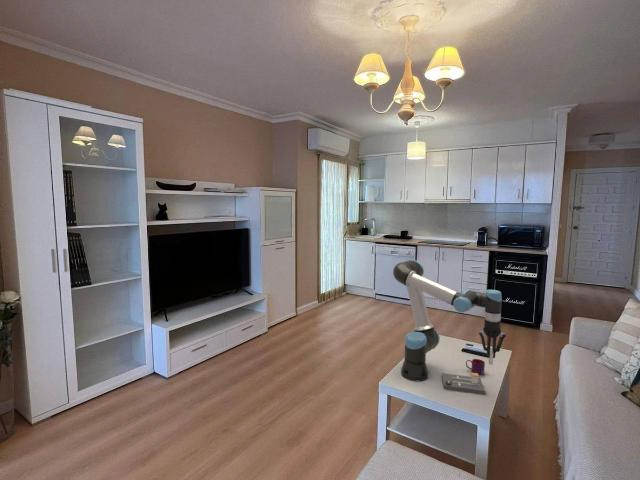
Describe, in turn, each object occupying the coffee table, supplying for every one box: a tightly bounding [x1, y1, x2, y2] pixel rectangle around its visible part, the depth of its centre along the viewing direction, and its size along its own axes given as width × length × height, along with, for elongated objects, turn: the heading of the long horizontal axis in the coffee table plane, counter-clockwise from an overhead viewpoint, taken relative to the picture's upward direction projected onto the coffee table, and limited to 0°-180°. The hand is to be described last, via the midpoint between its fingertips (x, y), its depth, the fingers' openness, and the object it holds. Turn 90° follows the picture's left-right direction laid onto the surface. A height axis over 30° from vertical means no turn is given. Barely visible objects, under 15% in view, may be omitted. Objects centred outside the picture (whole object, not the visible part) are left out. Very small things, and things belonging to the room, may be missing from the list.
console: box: [441, 372, 486, 395], centre depth 188 cm, size 20×14×3 cm
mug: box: [465, 358, 486, 376], centre depth 203 cm, size 7×10×7 cm
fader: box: [470, 372, 480, 384], centre depth 186 cm, size 3×3×5 cm
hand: (490, 363), depth 183 cm, fingers closed
